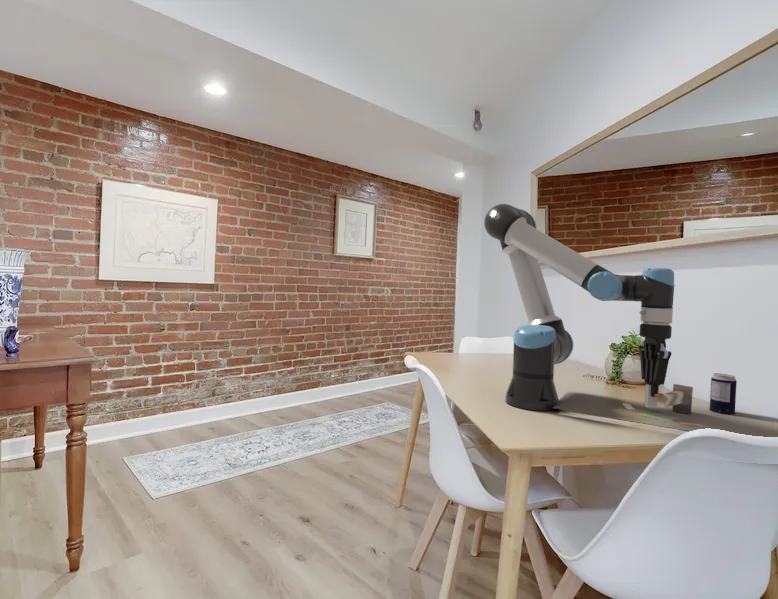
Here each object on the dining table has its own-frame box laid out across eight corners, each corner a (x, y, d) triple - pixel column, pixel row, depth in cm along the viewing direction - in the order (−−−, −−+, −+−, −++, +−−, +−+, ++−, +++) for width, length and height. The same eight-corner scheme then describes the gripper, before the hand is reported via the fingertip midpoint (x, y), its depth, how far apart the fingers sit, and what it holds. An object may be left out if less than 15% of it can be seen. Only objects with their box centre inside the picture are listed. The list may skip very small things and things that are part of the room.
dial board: (613, 418, 115) (614, 413, 115) (617, 404, 130) (617, 400, 130) (705, 434, 104) (705, 428, 104) (697, 416, 120) (698, 411, 120)
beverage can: (739, 420, 118) (741, 377, 117) (716, 418, 119) (718, 376, 118) (727, 414, 123) (729, 373, 123) (705, 413, 124) (707, 372, 124)
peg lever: (664, 422, 108) (666, 393, 108) (646, 417, 112) (647, 389, 112) (693, 412, 119) (695, 386, 118) (676, 408, 122) (677, 383, 122)
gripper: (630, 321, 125) (626, 400, 126) (653, 324, 112) (648, 413, 113) (657, 322, 124) (653, 402, 125) (683, 326, 111) (678, 415, 112)
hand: (651, 407), depth 119 cm, fingers closed
